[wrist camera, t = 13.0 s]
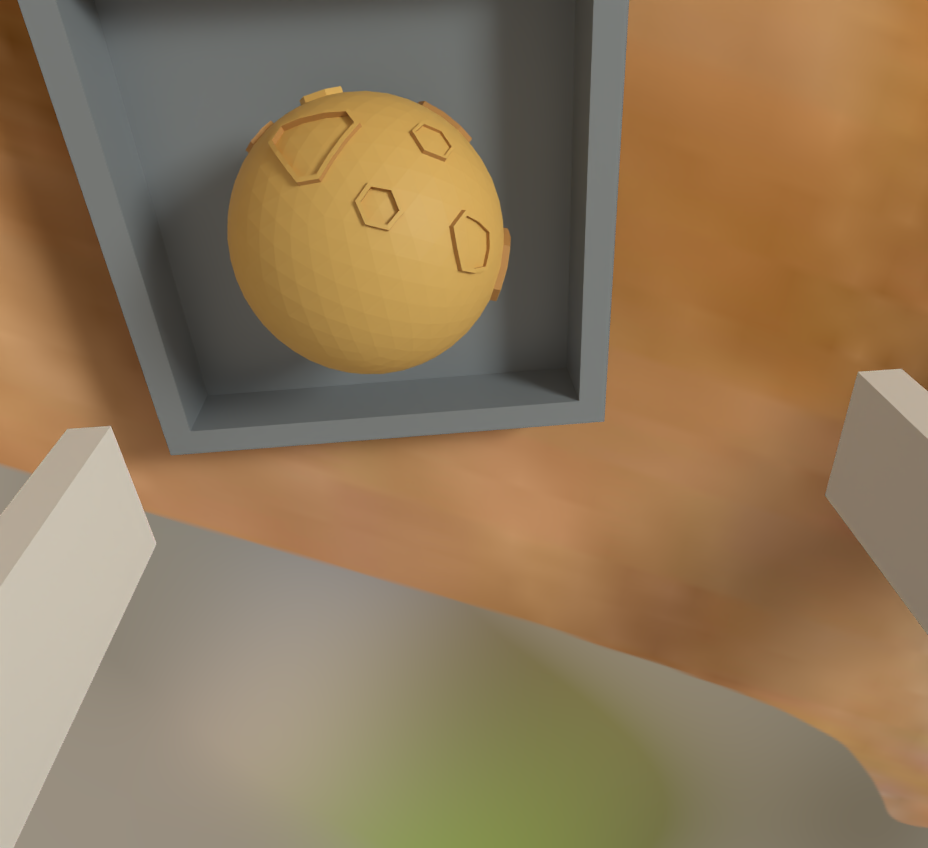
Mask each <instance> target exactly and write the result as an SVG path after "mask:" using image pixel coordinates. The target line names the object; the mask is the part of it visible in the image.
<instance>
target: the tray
mask: <svg viewBox="0 0 928 848" xmlns="http://www.w3.org/2000/svg"><path fill="white" fill-rule="evenodd" d="M18 3H19V6H20V9H21V12H22V15H23V18H24V21H25V24H26V27H27V30H28V33H29V36H30V39H31V42H32V45H33V48H34V51H35V54H36V56H37V59H38V62H39V65H40V68H41V71H42V74H43V77H44V80H45V83H46V86H47V89H48V92H49V95H50V98H51V101H52V104H53V107H54V110H55V113H56V116H57V119H58V122H59V125H60V128H61V131H62V134H63V137H64V140H65V143H66V145H67V148H68V151H69V154H70V157H71V160H72V163H73V166H74V169H75V172H76V175H77V178H78V181H79V184H80V187H81V190H82V193H83V196H84V199H85V202H86V205H87V208H88V211H89V214H90V217H91V220H92V223H93V226H94V229H95V232H96V235H97V237H98V240H99V243H100V246H101V249H102V252H103V255H104V258H105V261H106V264H107V267H108V270H109V273H110V276H111V279H112V282H113V285H114V288H115V291H116V294H117V297H118V300H119V303H120V306H121V309H122V312H123V315H124V318H125V321H126V324H127V326H128V329H129V332H130V335H131V338H132V341H133V344H134V347H135V350H136V353H137V356H138V359H139V362H140V365H141V368H142V371H143V374H144V377H145V380H146V383H147V386H148V389H149V392H150V395H151V398H152V401H153V404H154V407H155V410H156V413H157V415H158V418H159V421H160V424H161V427H162V430H163V433H164V436H165V439H166V442H167V445H168V448H169V451H170V454H171V455H182V454H194V453H207V452H220V451H233V450H245V449H258V448H271V447H284V446H296V445H309V444H322V443H335V442H347V441H360V440H373V439H386V438H398V437H411V436H424V435H437V434H449V433H462V432H475V431H488V430H500V429H513V428H526V427H539V426H551V425H564V424H577V423H590V422H602V421H604V416H605V399H606V382H607V365H608V348H609V331H610V314H611V297H612V280H613V263H614V246H615V229H616V212H617V195H618V178H619V161H620V145H621V128H622V110H623V93H624V76H625V60H626V43H627V26H628V9H629V0H18ZM338 86H341V88H342V91H343V92H354V91H372V92H381V93H389V94H392V95H396V96H399V97H403V98H406V99H409V100H411V101H413V102H416V103H418V102H420V101H426V102H428V103H429V104H431V105H433V106H435V107H436V108H438V109H440V110H441V111H443V112H445V113H446V114H447V115H448V116H450V117H451V118H452V119H453V120H454V121H456V122H457V123H458V124H459V125H460V126H461V127H462V128H463V129H464V130H465V131H466V132H467V133H468V134H469V136H470V137H471V138H472V139H471V141H470V142H469V143H470V144H471V146H472V147H473V148H474V150H475V151H476V152H477V154H478V155H479V156H480V158H481V159H482V161H483V163H484V165H485V167H486V168H487V170H488V172H489V174H490V176H491V178H492V180H493V183H494V186H495V189H496V192H497V195H498V198H499V201H500V207H501V212H502V218H503V228H508V230H509V233H510V236H511V242H510V253H509V260H508V267H507V271H506V275H505V278H504V281H503V284H502V288H501V291H500V293H499V296H498V299H497V301H492V300H489V302H488V304H487V306H486V307H485V309H484V311H483V312H482V314H481V316H480V317H479V318H478V320H477V321H476V322H475V323H474V325H473V326H472V327H471V328H470V330H469V331H468V332H467V333H466V334H465V335H464V336H463V337H462V338H461V339H459V340H458V341H457V342H456V343H455V344H454V345H453V346H452V347H450V348H449V349H447V350H446V351H444V352H443V353H441V354H440V355H438V356H436V357H435V358H433V359H431V360H429V361H427V362H425V363H423V364H420V365H417V366H414V367H412V368H409V369H406V370H402V371H397V372H391V373H385V374H357V373H348V372H343V371H339V370H335V369H330V368H327V367H325V366H322V365H320V364H317V363H315V362H312V361H310V360H308V359H306V358H305V357H303V356H301V355H299V354H298V353H296V352H294V351H293V350H292V349H290V348H289V347H288V346H286V345H285V344H283V343H282V342H281V341H279V340H278V339H277V338H276V337H275V336H274V335H273V334H272V333H271V332H270V331H269V330H268V329H267V328H266V327H265V326H264V325H263V324H262V322H261V321H260V320H259V319H258V317H257V316H256V315H255V313H254V312H253V310H252V309H251V307H250V306H249V304H248V302H247V301H246V299H245V298H244V296H243V293H242V291H241V289H240V286H239V284H238V282H237V280H236V277H235V273H234V270H233V267H232V263H231V259H230V253H229V246H228V240H227V223H228V210H229V203H230V198H231V193H232V190H233V186H234V183H235V180H236V178H237V175H238V173H239V170H240V168H241V166H242V164H243V161H244V160H245V158H246V157H247V155H248V152H247V151H246V148H247V147H248V145H249V143H250V142H251V140H252V139H253V138H254V137H255V136H256V134H257V133H258V132H259V131H260V130H261V128H262V127H264V126H265V125H266V124H267V123H268V122H270V121H272V122H273V123H275V122H276V121H277V120H278V119H280V118H281V117H283V116H284V115H285V114H287V113H288V112H290V111H292V110H293V109H295V108H297V107H299V106H300V105H301V104H300V101H299V100H300V99H301V98H302V97H303V96H306V95H309V94H312V93H314V92H317V91H320V90H323V89H327V88H333V87H338Z"/></svg>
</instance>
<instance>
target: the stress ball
mask: <svg viewBox="0 0 928 848" xmlns="http://www.w3.org/2000/svg"><path fill="white" fill-rule="evenodd" d="M299 101H300V104H301V105H300V106H299V107H297V108H295V109H293V110H292V111H290V112H288V113H287V114H285V115H284V116H283V117H281V118H280V119H278V120H277V121H276V122H275V123H273V122H272V121H270V122H268V123H267V124H266V125H265V126H264V127H262V128H261V130H260V131H259V132H258V133H257V134H256V136H255V137H254V138H253V139H252V140H251V142H250V143H249V145H248V147H247V148H246V151H247V152H248V155H247V157H246V158H245V160H244V161H243V164H242V166H241V168H240V170H239V173H238V175H237V178H236V180H235V183H234V186H233V190H232V193H231V198H230V203H229V210H228V223H227V240H228V246H229V253H230V259H231V263H232V267H233V270H234V273H235V277H236V280H237V282H238V284H239V286H240V289H241V291H242V293H243V296H244V298H245V299H246V301H247V302H248V304H249V306H250V307H251V309H252V310H253V312H254V313H255V315H256V316H257V317H258V319H259V320H260V321H261V322H262V324H263V325H264V326H265V327H266V328H267V329H268V330H269V331H270V332H271V333H272V334H273V335H274V336H275V337H276V338H277V339H278V340H279V341H281V342H282V343H283V344H285V345H286V346H288V347H289V348H290V349H292V350H293V351H294V352H296V353H298V354H299V355H301V356H303V357H305V358H306V359H308V360H310V361H312V362H315V363H317V364H320V365H322V366H325V367H327V368H330V369H335V370H339V371H343V372H348V373H357V374H385V373H391V372H397V371H402V370H406V369H409V368H412V367H414V366H417V365H420V364H423V363H425V362H427V361H429V360H431V359H433V358H435V357H436V356H438V355H440V354H441V353H443V352H444V351H446V350H447V349H449V348H450V347H452V346H453V345H454V344H455V343H456V342H457V341H458V340H459V339H461V338H462V337H463V336H464V335H465V334H466V333H467V332H468V331H469V330H470V328H471V327H472V326H473V325H474V323H475V322H476V321H477V320H478V318H479V317H480V316H481V314H482V312H483V311H484V309H485V307H486V306H487V304H488V302H489V300H492V301H497V299H498V296H499V293H500V291H501V288H502V284H503V281H504V278H505V275H506V271H507V267H508V260H509V253H510V242H511V236H510V233H509V230H508V228H503V218H502V212H501V207H500V201H499V198H498V195H497V192H496V189H495V186H494V183H493V180H492V178H491V176H490V174H489V172H488V170H487V168H486V167H485V165H484V163H483V161H482V159H481V158H480V156H479V155H478V154H477V152H476V151H475V150H474V148H473V147H472V146H471V144H470V143H469V142H470V141H471V139H472V138H471V137H470V136H469V134H468V133H467V132H466V131H465V130H464V129H463V128H462V127H461V126H460V125H459V124H458V123H457V122H456V121H454V120H453V119H452V118H451V117H450V116H448V115H447V114H446V113H445V112H443V111H441V110H440V109H438V108H436V107H435V106H433V105H431V104H429V103H428V102H426V101H420V102H418V103H416V102H413V101H411V100H409V99H406V98H403V97H399V96H396V95H392V94H389V93H381V92H372V91H354V92H343V91H342V88H341V86H338V87H333V88H327V89H323V90H320V91H317V92H314V93H312V94H309V95H306V96H303V97H302V98H301V99H300V100H299Z"/></svg>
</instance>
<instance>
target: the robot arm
mask: <svg viewBox="0 0 928 848" xmlns="http://www.w3.org/2000/svg"><path fill="white" fill-rule="evenodd" d="M825 496H826V498H827V499H828V500H829V502H830V503H831V504H832V506H833V507H834V508H835V510H836V511H837V513H838V514H839V515H840V517H841V518H842V519H843V521H844V522H845V523H846V525H847V526H848V527H849V529H850V530H851V532H852V533H853V534H854V536H855V537H856V538H857V540H858V541H859V542H860V544H861V545H862V546H863V548H864V549H865V550H866V552H867V553H868V555H869V556H870V557H871V559H872V560H873V561H874V563H875V564H876V565H877V567H878V568H879V569H880V571H881V572H882V574H883V575H884V576H885V578H886V579H887V580H888V582H889V583H890V584H891V586H892V587H893V588H894V590H895V591H896V592H897V594H898V595H899V597H900V598H901V599H902V601H903V602H904V603H905V605H906V606H907V607H908V609H909V610H910V611H911V613H912V614H913V616H914V617H915V618H916V620H917V621H918V622H919V624H920V625H921V626H922V628H923V629H924V630H925V632H926V633H927V635H928V391H927V390H925V389H924V388H923V387H922V386H921V385H920V384H919V383H917V382H916V381H915V380H914V379H913V378H912V377H910V376H909V375H908V374H907V373H906V372H905V371H903V370H902V369H892V370H878V371H864V372H858V374H857V377H856V381H855V385H854V389H853V392H852V396H851V400H850V404H849V407H848V411H847V415H846V419H845V422H844V426H843V430H842V434H841V437H840V441H839V445H838V449H837V452H836V456H835V460H834V464H833V467H832V471H831V475H830V479H829V482H828V486H827V490H826V494H825ZM155 546H156V541H155V538H154V536H153V533H152V531H151V528H150V526H149V523H148V520H147V518H146V515H145V513H144V510H143V507H142V505H141V502H140V500H139V497H138V495H137V492H136V489H135V487H134V484H133V482H132V479H131V477H130V474H129V471H128V469H127V466H126V464H125V461H124V458H123V456H122V453H121V451H120V448H119V446H118V443H117V440H116V438H115V435H114V433H113V430H112V428H111V426H102V427H88V428H75V429H67V430H66V431H65V433H64V434H63V435H62V436H61V438H60V439H59V440H58V442H57V443H56V444H55V445H54V447H53V448H52V449H51V451H50V452H49V453H48V454H47V456H46V457H45V458H44V460H43V461H42V462H41V463H40V465H39V466H38V467H37V469H36V470H35V471H34V473H33V474H32V475H31V476H30V478H29V479H28V480H27V482H26V483H25V484H24V485H23V487H22V488H21V489H20V491H19V492H18V493H17V494H16V496H15V497H14V498H13V500H12V501H11V502H10V504H9V505H8V506H7V507H6V509H5V510H4V511H3V512H2V514H1V515H0V848H14V846H15V844H16V842H17V840H18V837H19V835H20V833H21V831H22V829H23V827H24V825H25V823H26V820H27V818H28V816H29V814H30V812H31V810H32V807H33V806H34V803H35V801H36V799H37V797H38V795H39V793H40V791H41V789H42V786H43V784H44V782H45V780H46V778H47V776H48V774H49V772H50V769H51V767H52V765H53V763H54V761H55V759H56V757H57V754H58V752H59V750H60V748H61V746H62V744H63V742H64V740H65V738H66V735H67V733H68V731H69V729H70V727H71V725H72V723H73V721H74V718H75V716H76V714H77V712H78V710H79V708H80V706H81V703H82V701H83V699H84V697H85V695H86V693H87V691H88V688H89V686H90V684H91V682H92V680H93V678H94V676H95V674H96V672H97V669H98V667H99V665H100V663H101V661H102V659H103V657H104V654H105V652H106V650H107V648H108V646H109V644H110V642H111V640H112V637H113V635H114V633H115V631H116V629H117V627H118V625H119V623H120V621H121V618H122V616H123V614H124V611H125V610H126V608H127V606H128V604H129V601H130V599H131V597H132V595H133V593H134V591H135V589H136V587H137V584H138V582H139V580H140V578H141V576H142V574H143V572H144V570H145V567H146V565H147V563H148V561H149V559H150V557H151V555H152V553H153V550H154V548H155Z"/></svg>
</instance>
